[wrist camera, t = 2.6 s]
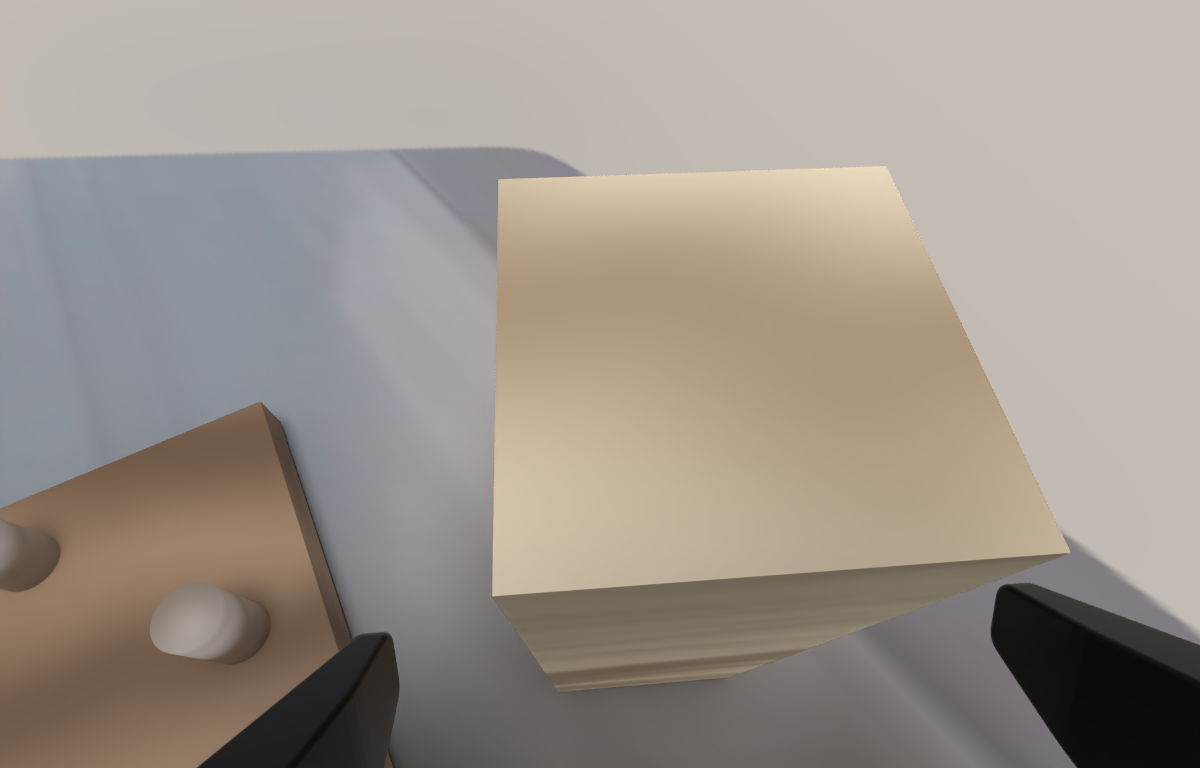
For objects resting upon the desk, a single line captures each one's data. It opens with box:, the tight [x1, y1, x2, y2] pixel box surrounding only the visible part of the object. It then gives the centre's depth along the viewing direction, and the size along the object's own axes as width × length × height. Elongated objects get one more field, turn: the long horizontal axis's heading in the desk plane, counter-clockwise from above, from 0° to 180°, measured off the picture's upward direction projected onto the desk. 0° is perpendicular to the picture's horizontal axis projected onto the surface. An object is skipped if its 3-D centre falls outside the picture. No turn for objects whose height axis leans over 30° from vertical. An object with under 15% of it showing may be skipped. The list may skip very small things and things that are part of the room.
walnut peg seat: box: [0, 402, 393, 768], centre depth 14 cm, size 14×14×4 cm
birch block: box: [492, 166, 1071, 692], centre depth 12 cm, size 5×5×14 cm
